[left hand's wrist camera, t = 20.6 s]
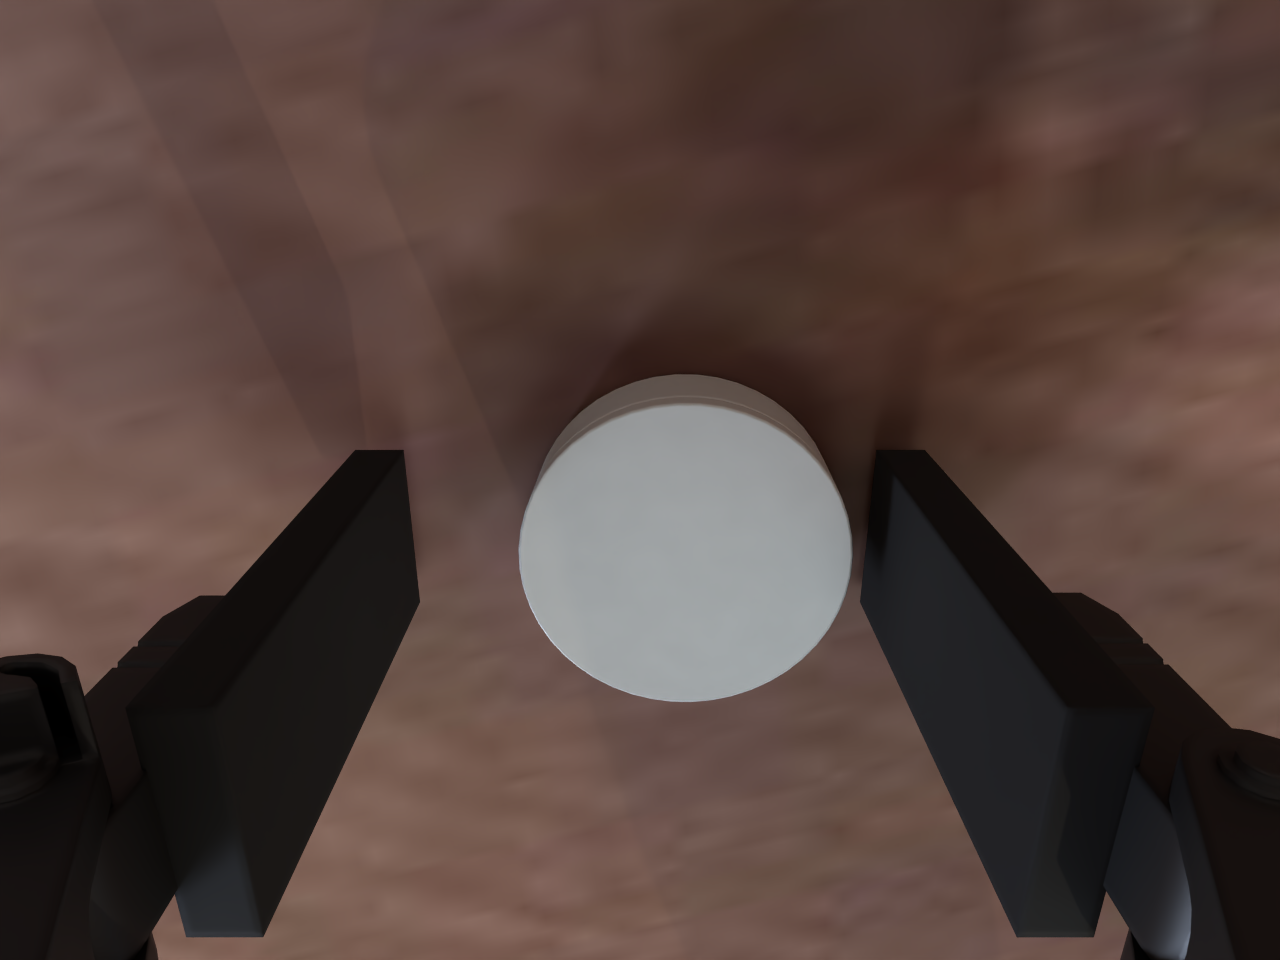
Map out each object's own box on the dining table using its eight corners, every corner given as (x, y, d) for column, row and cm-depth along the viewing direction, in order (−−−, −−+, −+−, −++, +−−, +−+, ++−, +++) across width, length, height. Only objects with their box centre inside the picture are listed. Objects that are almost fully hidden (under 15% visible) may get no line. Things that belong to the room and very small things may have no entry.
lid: (864, 604, 15) (886, 656, 13) (593, 677, 16) (585, 735, 14) (789, 331, 13) (804, 356, 12) (487, 427, 14) (466, 462, 12)
